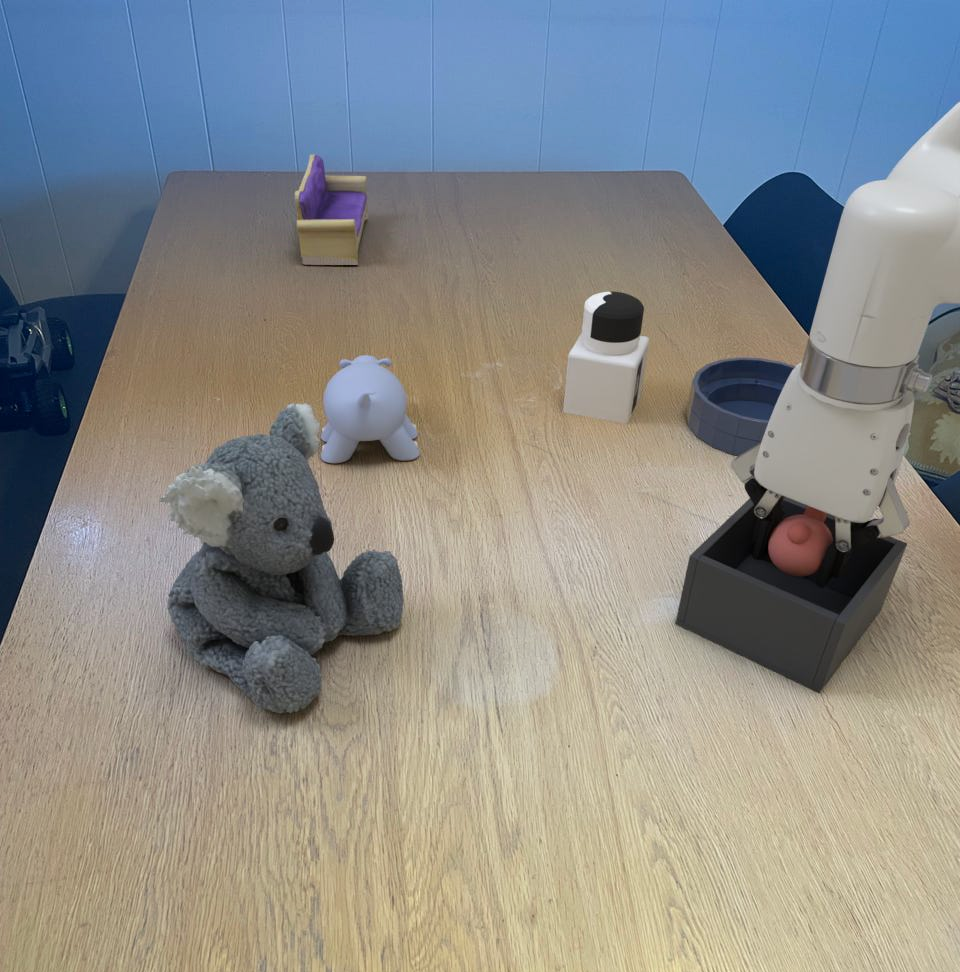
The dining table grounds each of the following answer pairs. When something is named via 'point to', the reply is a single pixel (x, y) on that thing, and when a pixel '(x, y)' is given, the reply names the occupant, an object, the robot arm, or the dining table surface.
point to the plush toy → (800, 543)
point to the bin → (783, 600)
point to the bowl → (735, 401)
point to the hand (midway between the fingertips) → (794, 563)
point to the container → (607, 359)
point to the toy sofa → (330, 212)
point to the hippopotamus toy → (366, 411)
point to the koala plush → (271, 567)
